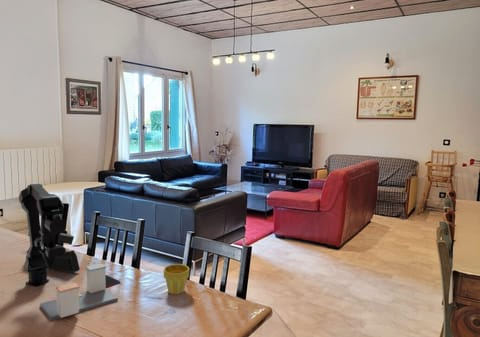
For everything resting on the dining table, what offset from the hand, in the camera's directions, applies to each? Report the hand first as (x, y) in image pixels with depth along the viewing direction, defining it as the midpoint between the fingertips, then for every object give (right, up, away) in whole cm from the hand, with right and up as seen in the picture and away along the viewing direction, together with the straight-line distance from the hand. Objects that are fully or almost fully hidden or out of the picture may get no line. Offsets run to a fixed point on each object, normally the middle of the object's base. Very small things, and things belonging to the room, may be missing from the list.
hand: (50, 267), depth 145 cm
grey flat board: (+13, -13, -3) cm, 18 cm away
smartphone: (+14, -11, +19) cm, 26 cm away
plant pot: (+47, -13, +11) cm, 50 cm away
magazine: (-15, -9, +31) cm, 35 cm away
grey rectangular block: (+15, -10, +6) cm, 20 cm away
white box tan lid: (+13, -12, -13) cm, 22 cm away
